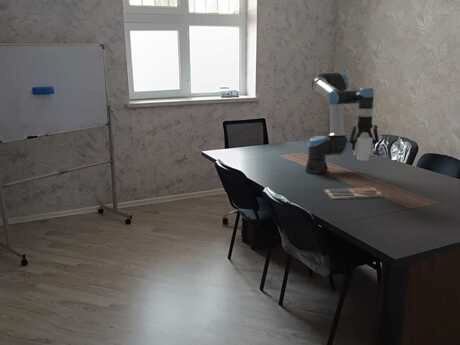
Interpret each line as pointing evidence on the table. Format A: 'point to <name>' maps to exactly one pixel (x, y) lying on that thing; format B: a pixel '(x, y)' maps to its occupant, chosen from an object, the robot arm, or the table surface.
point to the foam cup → (364, 147)
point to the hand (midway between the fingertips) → (363, 154)
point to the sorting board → (353, 193)
